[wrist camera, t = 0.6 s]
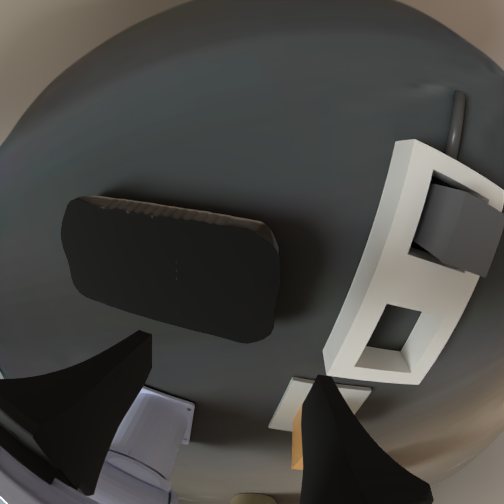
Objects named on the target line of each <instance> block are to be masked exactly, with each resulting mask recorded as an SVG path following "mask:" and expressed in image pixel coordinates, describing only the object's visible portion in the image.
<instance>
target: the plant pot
mask: <svg viewBox="0 0 504 504" xmlns="http://www.w3.org/2000/svg"><path fill="white" fill-rule="evenodd" d="M229 504H276V502H275V500H274V498H272V497H270V496H267V495H263V494H255V493H243V494H237V495H235V496H234V497H233V499H232V500H231V501H230V503H229Z"/></svg>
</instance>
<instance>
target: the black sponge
mask: <svg viewBox="0 0 504 504" xmlns="http://www.w3.org/2000/svg"><path fill="white" fill-rule="evenodd" d="M61 240H62V245H63V249H64V251H65V254H66V257H67V259H68V263H69V266H70V271H71V277H72V280H73V283H74V285H75V287H76V289H77V290H78V291H79V292H80V293H81V294H82V295H84V296H85V297H87V298H90V299H92V300H95V301H98V302H101V303H103V304H106V305H109V306H111V307H115V308H118V309H121V310H124V311H127V312H130V313H133V314H137V315H140V316H143V317H147V318H150V319H153V320H157V321H160V322H164V323H168V324H171V325H175V326H179V327H183V328H186V329H190V330H194V331H198V332H202V333H207V334H211V335H215V336H218V337H222V338H226V339H229V340H233V341H236V342H240V343H247V344H248V343H253V342H257V341H260V340H262V339H264V338H266V337H267V336H269V335H270V334H271V332H272V330H273V328H274V312H275V304H276V300H277V296H278V292H279V287H280V257H279V246H278V244H277V241H276V239H275V237H274V234H273V232H272V231H271V229H270V228H269V227H268V226H267V225H266V224H265V223H263V222H261V221H256V220H251V219H246V218H239V217H234V216H230V215H224V214H218V213H211V212H209V211H199V210H193V209H184V208H180V207H175V206H166V205H160V204H156V203H149V202H141V201H133V200H126V199H117V198H111V197H104V196H84V197H78V198H76V199H74V200H71V201H70V202H69V204H68V205H67V208H66V211H65V214H64V217H63V221H62V227H61Z"/></svg>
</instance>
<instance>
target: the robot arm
mask: <svg viewBox="0 0 504 504" xmlns="http://www.w3.org/2000/svg"><path fill="white" fill-rule="evenodd" d="M151 368H152V334H149V333H146V332H143V331H141V330H139V331H137V332H135V333H134V334H132V335H130V336H129V337H127V338H125V339H124V340H122V341H121V342H119V343H117V344H116V345H114V346H112V347H110V348H109V349H107V350H105V351H103V352H102V353H100V354H98V355H96V356H94V357H92V358H90V359H88V360H86V361H84V362H81V363H79V364H77V365H74V366H71V367H69V368H66V369H63V370H59V371H56V372H52V373H49V374H45V375H40V376H34V377H28V378H18V379H0V498H1V499H2V500H3V501H4V502H5V503H6V504H179V500H178V498H177V495H176V493H175V492H174V491H172V490H171V487H172V484H173V483H172V482H170V481H168V480H169V477H170V474H171V471H172V469H173V466H174V463H175V460H176V457H177V454H178V451H179V449H180V446H181V443H182V444H189V441H190V434H191V428H192V421H193V415H194V409H195V405H194V404H193V403H192V402H189V401H186V400H183V399H179V398H176V397H173V396H170V395H167V394H164V393H162V392H159V391H156V390H153V389H151V388H148V387H145V386H144V384H145V382H146V380H147V378H148V375H149V373H150V371H151ZM301 435H302V453H303V479H302V490H301V498H300V504H432V502H433V496H432V492H431V488H430V485H429V484H428V483H427V482H425V481H423V480H421V479H420V478H418V477H416V476H415V475H413V474H411V473H410V472H409V471H407V470H406V469H404V468H403V467H402V466H400V465H399V464H398V463H397V462H395V461H394V460H393V459H392V458H391V457H390V456H389V455H388V454H387V453H385V452H384V451H383V450H382V449H381V448H380V447H379V445H378V444H377V443H376V442H375V441H374V440H373V439H372V438H371V437H370V435H369V434H368V433H367V432H366V430H365V429H364V428H363V426H362V425H361V424H360V422H359V421H358V419H357V418H356V417H355V415H354V414H353V412H352V411H351V409H350V407H349V406H348V404H347V403H346V401H345V399H344V398H343V396H342V394H341V393H340V391H339V389H338V387H337V386H336V384H335V382H334V381H333V379H332V377H330V376H323V375H317V377H316V379H315V381H314V383H313V385H312V387H311V389H310V391H309V393H308V395H307V397H306V398H305V400H304V402H303V404H302V415H301Z"/></svg>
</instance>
